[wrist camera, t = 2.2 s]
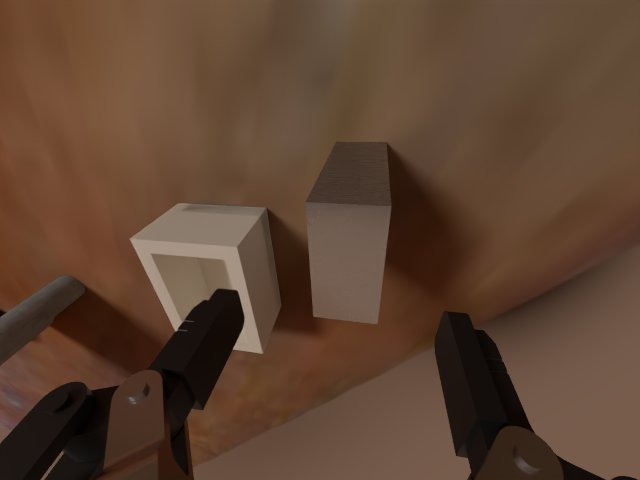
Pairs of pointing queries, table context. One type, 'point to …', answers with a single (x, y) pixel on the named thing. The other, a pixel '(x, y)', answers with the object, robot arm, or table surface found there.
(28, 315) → the hip flask
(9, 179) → the table surface
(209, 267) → the hollow off-white angular block
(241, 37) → the table surface
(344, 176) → the tall brushed metal block
